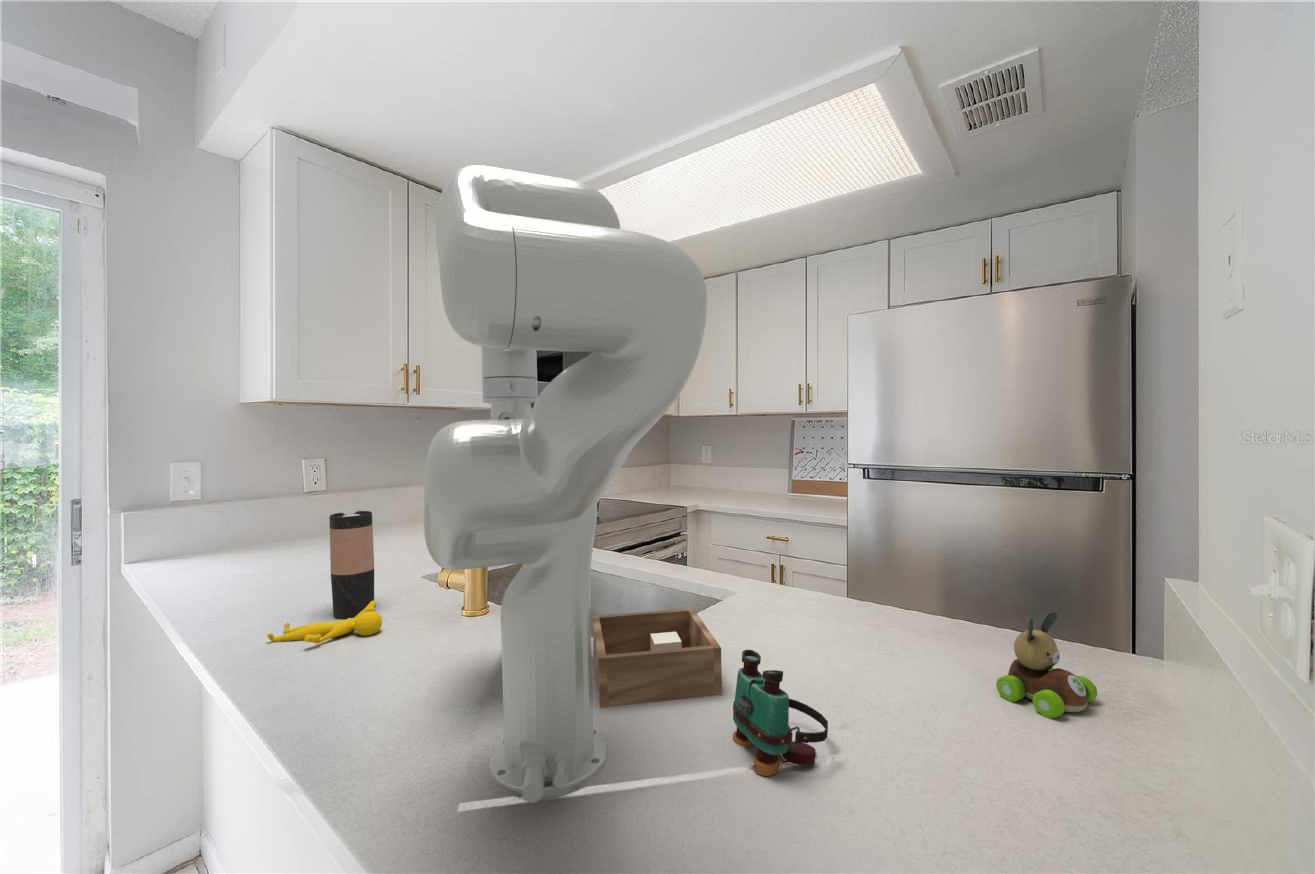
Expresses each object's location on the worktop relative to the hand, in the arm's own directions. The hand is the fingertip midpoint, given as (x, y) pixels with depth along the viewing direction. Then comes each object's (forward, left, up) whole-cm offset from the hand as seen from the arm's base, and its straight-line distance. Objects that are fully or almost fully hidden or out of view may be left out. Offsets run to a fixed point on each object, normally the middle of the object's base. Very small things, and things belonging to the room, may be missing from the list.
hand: (513, 520), depth 78 cm
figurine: (+26, +35, -24) cm, 50 cm away
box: (-3, -19, -23) cm, 30 cm away
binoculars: (-23, -30, -24) cm, 45 cm away
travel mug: (+38, +35, -23) cm, 57 cm away
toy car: (-19, -68, -24) cm, 74 cm away
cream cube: (-1, -22, -22) cm, 31 cm away
